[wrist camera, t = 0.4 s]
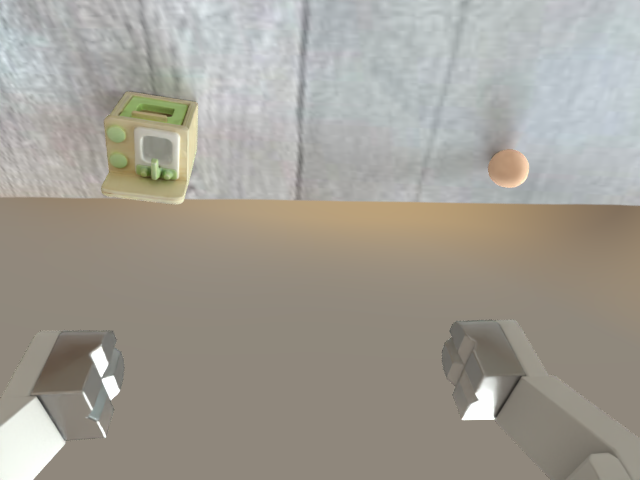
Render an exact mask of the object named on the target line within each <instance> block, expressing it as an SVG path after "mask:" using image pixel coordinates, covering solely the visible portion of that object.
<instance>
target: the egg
mask: <svg viewBox="0 0 640 480" xmlns="http://www.w3.org/2000/svg"><path fill="white" fill-rule="evenodd" d="M488 172H489V176H490V178H491V179H492V180H493V181H494V182H495V183H496V184H497V185H499V186H502V187H507V188H511V187H516V186H519V185H520V184H522V183H523V182H524V181H525V180H526V178H527V176H528V173H529V164H528V161H527V159H526V158H525V156H524V155H523V154H522V153H520V152H519V151H516V150H513V149H506V150H502V151H500V152H498V153H496V154H495V155H494V156H493V157H492V159H491V160H490V162H489V166H488Z"/></svg>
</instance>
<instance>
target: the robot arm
mask: <svg viewBox="0 0 640 480" xmlns="http://www.w3.org/2000/svg"><path fill="white" fill-rule="evenodd" d="M450 333H451V336H452V337H451V338H450V339H449V340H447V341H446V342H445V344H444V347H443V350H442V364H443V370H444V372H445V375H446V378H447V379H448V380H449V381H450V382H451V383H452V384H453V385H454V386H455V389H454V392H453V398H454V401H455V403H456V406H457V408H458V411H459V414H460V417H461V419H462V420H471V419H472V420H474V419H495V422H496V423H497V424H498V425H499V426H500V427H501V428H502V429H503V430H504V431H505V432H506V434H508V436H509V437H510V438H511V439H512V440H513V441H514V442H515V443H516V444H517V445H518V446H519V447H520V448H521V449H522V450H523V451H524V452H525V453H526V455H527V456H528V457H529V458H530V459H531V460H532V461H533V462H534V463H535V464H536V465H537V466H538V467H539V468H540V469H541V470H542V471H543V472H544V473H545V475H546V476H547V477H548V478H549V479H550V480H640V438H639V437H637V436H636V435H635V434H633V433H632V432H631V431H629V430H628V429H627V428H625V427H624V426H623V425H621V424H620V423H619V422H617V421H616V420H614V419H613V418H612V417H610V416H609V415H608V414H606V413H605V412H603V411H602V410H601V409H600V408H598V407H597V406H595V405H594V404H593V403H591V402H590V401H589V400H587V399H586V398H585V397H583V396H582V395H581V394H579V393H578V392H577V391H575V390H574V389H572V388H571V387H570V386H568V385H567V384H566V383H564V382H563V381H562V380H560V379H559V378H558V377H556V376H555V375H548V373H547V372H546V370H545V368H544V366H543V365H542V363H541V361H540V359H539V358H538V356H537V354H536V352H535V351H534V349H533V347H532V346H531V344H530V342H529V340H528V339H527V337H526V335H525V333H524V332H523V330H522V328H521V327H520V325H519V323H518V322H516V321H515V320H494V321H493V320H475V321H456V322H454V323H453V324H452V326H451V328H450ZM116 341H117V339H116V337H115V335H114V332H113V331H40V332H39V333H38V334H36V335H35V336H34V337H33V339H32V341H31V342H30V344H29V346H28V348H27V350H26V352H25V354H24V355H23V357H22V359H21V361H20V363H19V365H18V366H17V368H16V370H15V372H14V374H13V376H12V378H11V379H10V381H9V383H8V385H7V387H6V389H5V391H4V393H3V394H2V396H1V397H0V480H33V479H34V478H35V477H36V476H37V474H38V473H39V472H40V471H41V470H42V469H43V468H44V467H45V465H46V464H47V463H48V462H49V461H50V460H51V459H52V458H53V457H54V456H55V454H56V453H57V452H58V451H59V450H60V449H61V448H62V447H63V445H64V444H65V441H69V440H82V439H95V438H105V437H106V435H107V432H108V429H109V425H110V422H111V419H112V416H113V413H114V408H113V405H112V403H111V400H112V399H113V398H114V397H115V396H116V395H117V394H118V393H119V392H120V389H121V386H122V382H123V377H124V359H123V356H122V353H121V352H120V351H119V350H117V349H116V348H114V347H115V344H116Z"/></svg>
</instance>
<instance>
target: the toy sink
mask: <svg viewBox="0 0 640 480" xmlns="http://www.w3.org/2000/svg"><path fill="white" fill-rule="evenodd" d="M197 126H198V103H197V102H193V101H188V100H181V99H174V98H168V97H162V96H155V95H149V94H142V93H136V92H125V94H124V95H123V97H122V98H121V99H120V101H119V102H118V103H117V105H116V106H115V108H114V109H113V111H112V112H111V114H110V115H108V116H107V117H106V118H105V120H104V127H105V137H106V147H107V157H108V166H109V174H108V175H107V177H106V179H105V181H104V182H103V184H102V187H101V191H102V194H104V195H105V196H108V197H116V198H124V199H132V200H141V201H149V202H158V203H167V204H180V203H182V202H183V201H184V198H185V194H186V191H187V187H188V183H189V179H190V175H191V171H192V167H193V164H194V160H195V156H196V151H197Z"/></svg>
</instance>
